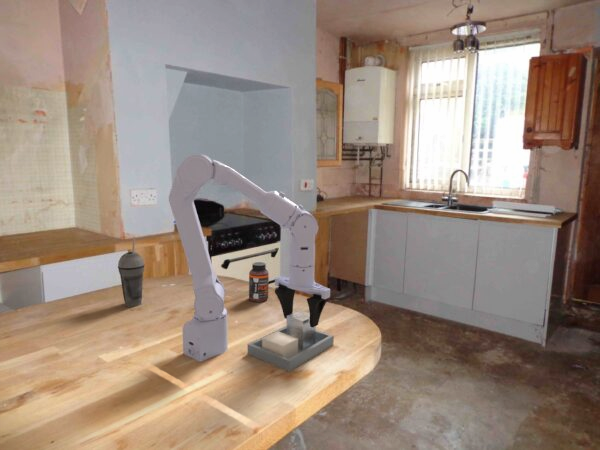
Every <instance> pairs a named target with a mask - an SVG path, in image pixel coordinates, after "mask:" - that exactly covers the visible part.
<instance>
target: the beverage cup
mask: <svg viewBox="0 0 600 450" xmlns="http://www.w3.org/2000/svg"><path fill="white" fill-rule="evenodd" d="M135 245H136V236H133V237H132V246H131V247H132V248H131V249H132V250H131V251H128V252H126V253H124V254H123V255H121V257H120V258H119V260H118V265H117V268H118V269H117V270H118V273H119V275H120V282H121V287H122V288H121V289H122V295H123V300H124V305H125V306H126V307H131V308H133V307H138V306H140V305H142V303H143V302H142V298H143V287H144V286H143V284H144V283H143V282H144V281H143V280H144V270H145V266H146V265H145V261H144V259H143V258H142V256H141V255H140V254H139V253H138V252H135Z"/></svg>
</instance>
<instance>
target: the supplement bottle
mask: <svg viewBox="0 0 600 450" xmlns="http://www.w3.org/2000/svg"><path fill="white" fill-rule="evenodd" d="M269 276H270V275H269V271H268V269H267V266H266V263H265V262H262V261H258V262H257V261H256V262H253V263H252V266H251V269H250V270H249V272H248V299H249V300H250V301H252V302H256V303H261V302H266V301H268V299H269V294H270V293H269V292H270V291H269V284H270V283H269V280H270V279H269V278H270V277H269Z"/></svg>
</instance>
